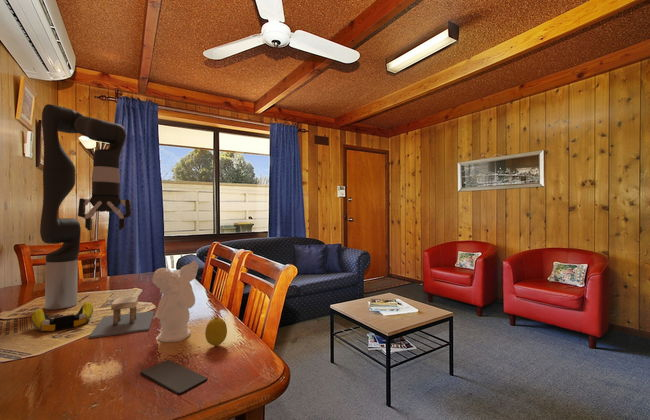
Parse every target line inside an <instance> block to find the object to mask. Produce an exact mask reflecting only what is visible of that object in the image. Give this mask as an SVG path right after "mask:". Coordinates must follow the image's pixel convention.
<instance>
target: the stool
mask: <svg viewBox="0 0 650 420" xmlns="http://www.w3.org/2000/svg"><path fill="white" fill-rule="evenodd" d="M138 303H139V296H132V297H121V298H115V299H114V300H113V301H112V303H111V306H110V310H111V311H112V312H113V314H112V316H113V326H117V325H118V321H121V315H122V314H121V312H122V311H121V310H127V309H129V314H130V324H134V320H135V319H136V313H137V305H138Z"/></svg>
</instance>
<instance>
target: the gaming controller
mask: <svg viewBox="0 0 650 420" xmlns="http://www.w3.org/2000/svg"><path fill="white" fill-rule="evenodd" d="M93 312H94V306H93V304H92V303H91V302H89V301H85V302H84V303H83V304H82V306H81V307H80V309H79V310H78V312H77V313H76V314H74V313H72V314H67V315H66V314H65V315H61V316H55V317H53V318H51V317H49V315H47V313H46V312H45V311H44V310H43V309H42V308H40V309H36V310H35V311H34V312H33V313H32V315H31V323H32V325H33V327H35V328H36V329H37V330H38V331H41V332H44V331H46V332H53V331H59V330H64V329H69V328H73V327H74V328H75V327H79V326H81V325H84V324H86V323H88V321H89V320H90V319H91V318H92V315H93Z"/></svg>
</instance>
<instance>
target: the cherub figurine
mask: <svg viewBox="0 0 650 420" xmlns="http://www.w3.org/2000/svg"><path fill="white" fill-rule="evenodd" d="M198 271H199V264H198V261H196V260H195V259H194V260H192V261H191V262H190V263H188V264H185V265H183V266H182V267H180V269H178V270H177V269H175V270H174V271H171V269H170V268H166V267H159V268H158V269H156V270H154V272H153V275H152V284H153V285H154V286H156V288H158V289H159V293H160V294H162V297H161V298H160V300H159V303H158V305H157V309H156V311H155V312H154V315H153V319H154V318H155V319H158V320H159V324H160V326H161V327H162V328H160V333H159V334H158V336H157V338H158V340H159V341H160V342H162V343H171V342H173V343H174V342H175V343H177V342H180V341H183V340H185V339H187V338H189V337H190V335H191V333H192V332H191V329H190V328H189V324H188V323H189V321H190V315H191V313H190V310H189V309H191V308H193V307H194V306H195V304H196V296H195V295H196V294H195V293H194V291H193V290H194V289H193V286H192V284H191V282H192V281H194V280H195V279H196V277H197V275H198Z"/></svg>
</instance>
